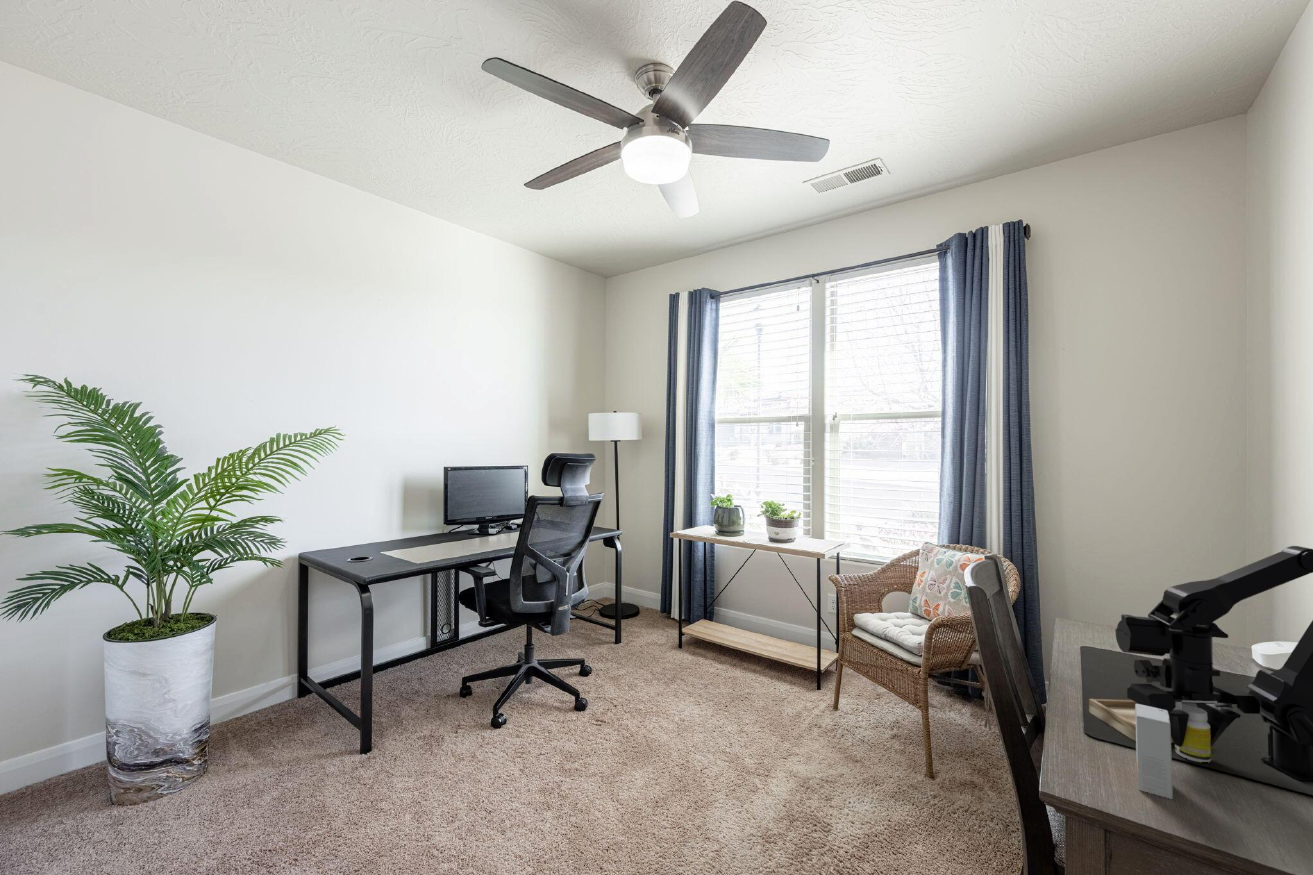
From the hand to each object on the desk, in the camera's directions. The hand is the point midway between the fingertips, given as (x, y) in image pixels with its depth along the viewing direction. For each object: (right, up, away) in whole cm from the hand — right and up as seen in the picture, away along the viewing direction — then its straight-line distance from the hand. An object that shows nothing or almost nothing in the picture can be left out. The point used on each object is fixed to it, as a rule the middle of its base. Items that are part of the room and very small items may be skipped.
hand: (1192, 746), depth 101 cm
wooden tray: (0, -3, +11) cm, 11 cm away
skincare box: (-15, -2, -9) cm, 18 cm away
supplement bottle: (0, -2, 0) cm, 2 cm away
